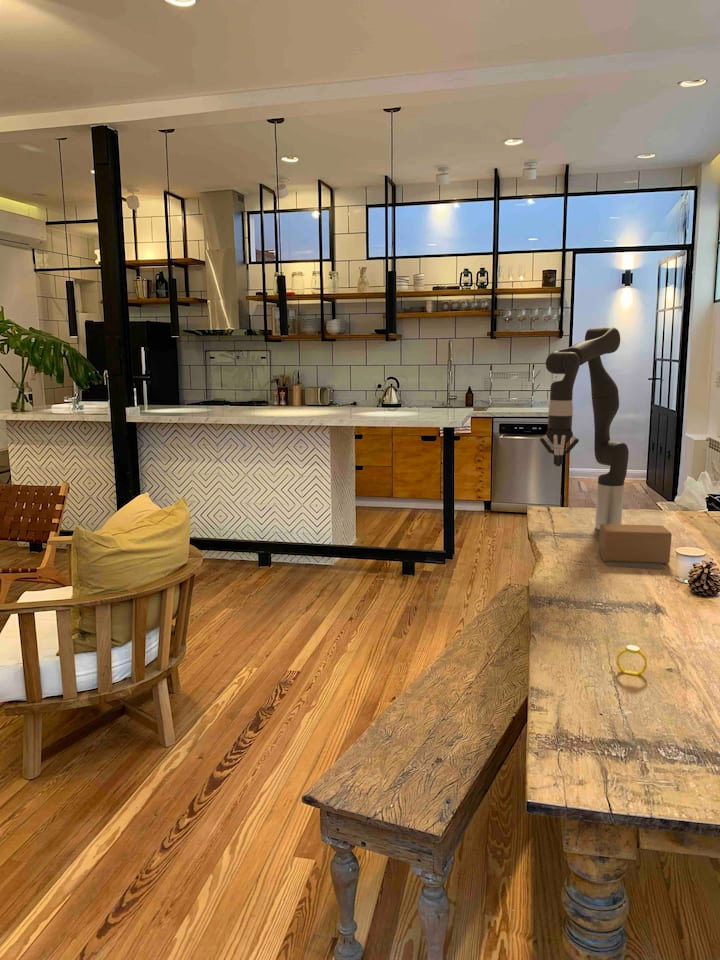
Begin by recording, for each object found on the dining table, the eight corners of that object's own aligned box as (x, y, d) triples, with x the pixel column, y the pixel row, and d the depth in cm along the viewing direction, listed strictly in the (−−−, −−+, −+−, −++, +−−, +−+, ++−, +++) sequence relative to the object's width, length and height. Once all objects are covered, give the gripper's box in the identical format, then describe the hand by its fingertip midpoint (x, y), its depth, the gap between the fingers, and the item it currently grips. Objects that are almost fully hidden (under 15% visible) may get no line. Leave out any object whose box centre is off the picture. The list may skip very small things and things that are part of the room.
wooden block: (598, 552, 240) (661, 554, 237) (604, 561, 230) (669, 563, 227) (600, 523, 238) (663, 525, 235) (606, 531, 228) (672, 533, 226)
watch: (645, 674, 154) (649, 648, 152) (644, 679, 151) (649, 653, 150) (615, 667, 156) (619, 642, 154) (614, 673, 153) (618, 647, 152)
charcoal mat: (603, 552, 241) (603, 551, 241) (657, 556, 237) (657, 554, 237) (607, 565, 227) (607, 564, 227) (664, 569, 223) (665, 568, 223)
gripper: (539, 414, 234) (537, 467, 237) (582, 415, 231) (579, 468, 234) (539, 412, 241) (537, 463, 244) (581, 413, 238) (578, 464, 241)
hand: (558, 465), depth 239 cm, fingers closed
